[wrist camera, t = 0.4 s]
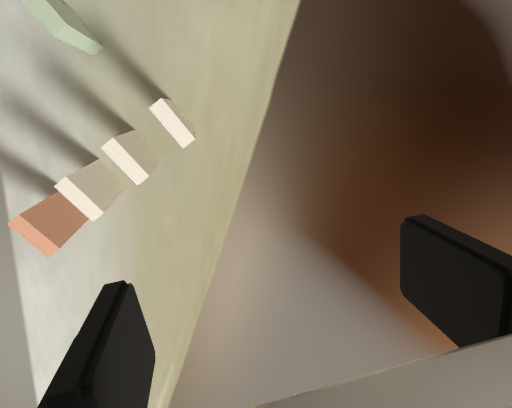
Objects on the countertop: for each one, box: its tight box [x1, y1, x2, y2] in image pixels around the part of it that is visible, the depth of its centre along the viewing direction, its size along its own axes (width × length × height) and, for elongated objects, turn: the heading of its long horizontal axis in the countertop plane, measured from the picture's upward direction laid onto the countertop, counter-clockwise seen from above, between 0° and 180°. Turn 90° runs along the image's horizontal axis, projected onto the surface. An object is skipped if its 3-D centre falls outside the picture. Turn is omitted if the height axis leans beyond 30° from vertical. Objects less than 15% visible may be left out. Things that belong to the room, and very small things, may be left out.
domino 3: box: [7, 191, 89, 257], centre depth 37 cm, size 2×5×11 cm, turn 37°
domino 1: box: [21, 0, 104, 56], centre depth 31 cm, size 2×5×11 cm, turn 37°
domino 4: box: [101, 130, 161, 185], centre depth 36 cm, size 2×5×11 cm, turn 37°
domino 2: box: [54, 159, 127, 222], centre depth 36 cm, size 2×5×11 cm, turn 37°
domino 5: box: [149, 98, 196, 148], centre depth 36 cm, size 2×5×11 cm, turn 37°
